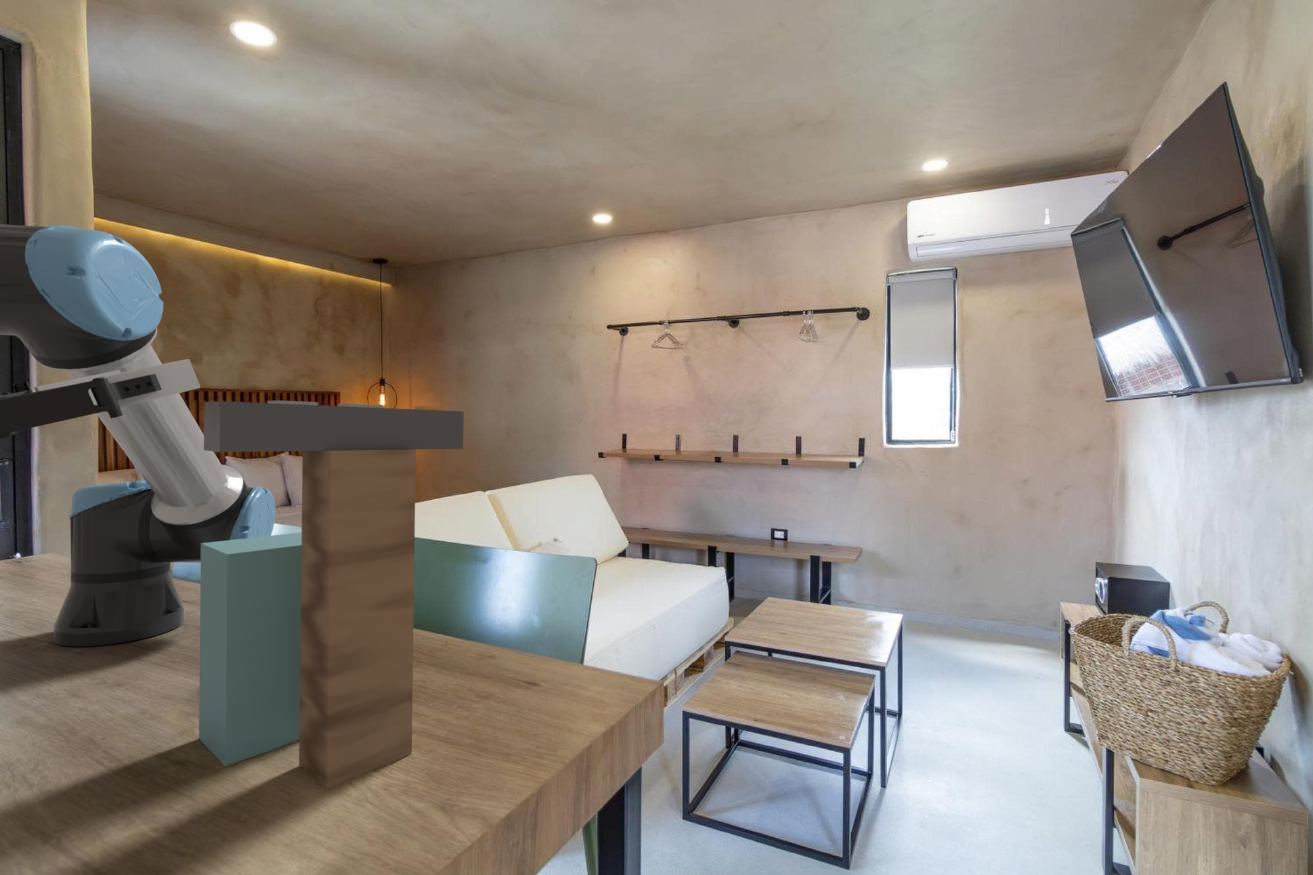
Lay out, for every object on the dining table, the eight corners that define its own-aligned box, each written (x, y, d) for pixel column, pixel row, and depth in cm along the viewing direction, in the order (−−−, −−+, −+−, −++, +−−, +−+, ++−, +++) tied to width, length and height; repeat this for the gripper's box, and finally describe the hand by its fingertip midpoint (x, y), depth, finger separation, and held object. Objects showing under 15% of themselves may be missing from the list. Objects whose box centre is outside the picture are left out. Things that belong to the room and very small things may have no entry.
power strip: (203, 450, 51) (204, 397, 51) (442, 447, 68) (442, 408, 68) (219, 452, 48) (220, 396, 48) (463, 448, 65) (463, 407, 65)
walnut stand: (299, 765, 58) (302, 448, 58) (381, 733, 64) (385, 447, 64) (326, 789, 54) (330, 451, 54) (411, 753, 60) (415, 449, 60)
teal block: (198, 738, 63) (200, 543, 62) (308, 703, 71) (310, 531, 71) (225, 766, 58) (227, 554, 57) (340, 725, 66) (342, 539, 66)
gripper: (-203, 502, 49) (113, 420, 66) (-114, 514, 37) (242, 410, 54) (-260, 412, 46) (83, 352, 64) (-185, 393, 35) (210, 326, 52)
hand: (156, 378), depth 59 cm, fingers open, 13 cm apart
